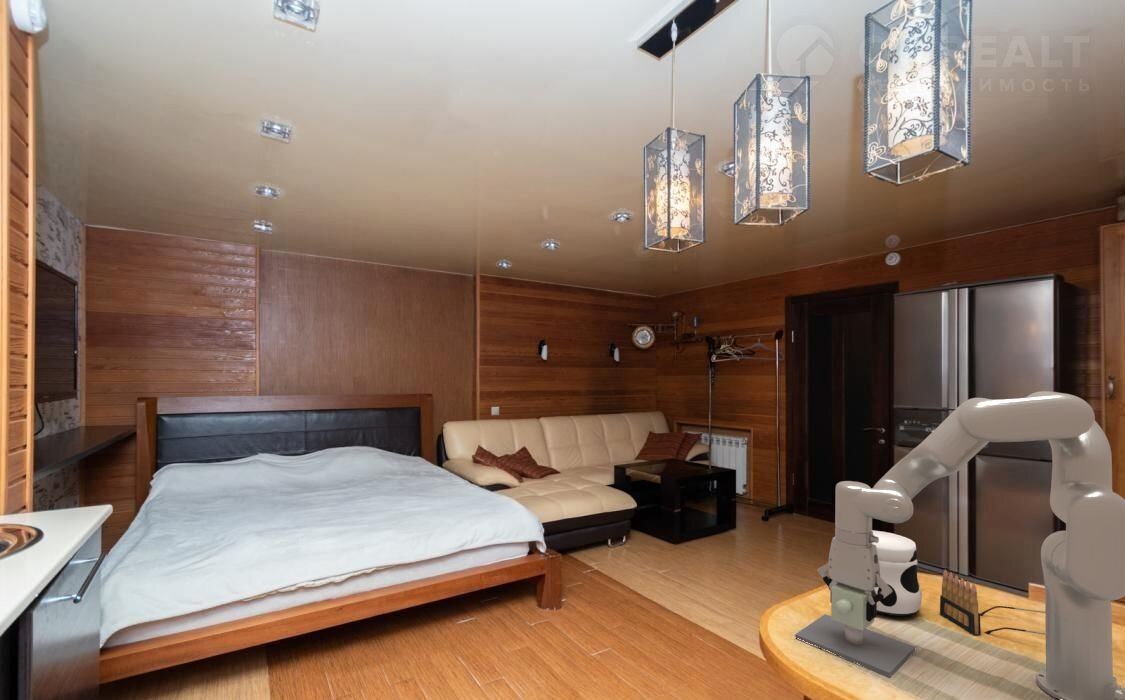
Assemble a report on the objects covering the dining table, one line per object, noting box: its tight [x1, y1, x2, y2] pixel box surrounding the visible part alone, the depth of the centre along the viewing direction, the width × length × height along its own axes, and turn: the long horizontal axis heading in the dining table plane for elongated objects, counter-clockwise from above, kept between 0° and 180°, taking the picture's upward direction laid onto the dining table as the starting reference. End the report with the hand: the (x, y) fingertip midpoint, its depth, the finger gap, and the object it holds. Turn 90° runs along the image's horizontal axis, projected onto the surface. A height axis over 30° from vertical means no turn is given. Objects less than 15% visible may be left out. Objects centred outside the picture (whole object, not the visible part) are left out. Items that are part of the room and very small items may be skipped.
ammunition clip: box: [939, 569, 982, 636], centre depth 132 cm, size 11×2×12 cm, turn 3°
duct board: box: [794, 613, 916, 678], centre depth 122 cm, size 20×16×6 cm
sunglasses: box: [980, 605, 1046, 636], centre depth 129 cm, size 14×16×5 cm
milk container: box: [872, 529, 923, 617], centre depth 142 cm, size 17×17×18 cm
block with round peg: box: [830, 583, 875, 631], centre depth 121 cm, size 10×7×7 cm
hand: (852, 612), depth 122 cm, fingers closed on block with round peg, 6 cm apart
